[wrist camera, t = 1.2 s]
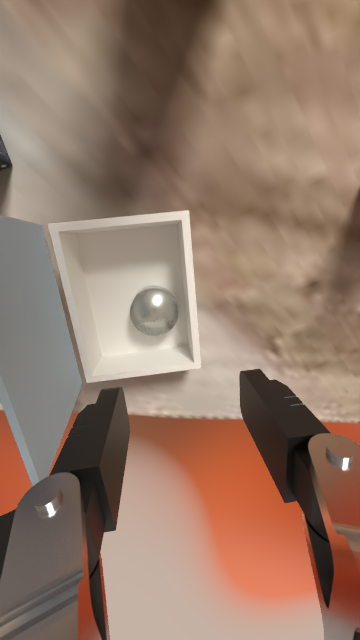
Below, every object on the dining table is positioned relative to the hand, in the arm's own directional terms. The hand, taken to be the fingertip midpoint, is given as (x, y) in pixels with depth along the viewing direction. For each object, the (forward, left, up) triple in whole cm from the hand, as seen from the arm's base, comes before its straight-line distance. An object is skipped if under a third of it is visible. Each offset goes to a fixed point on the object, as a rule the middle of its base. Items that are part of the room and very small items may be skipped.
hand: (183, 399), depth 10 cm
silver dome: (+2, +1, -24) cm, 24 cm away
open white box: (+3, -2, -24) cm, 25 cm away
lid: (+9, -4, -11) cm, 15 cm away
